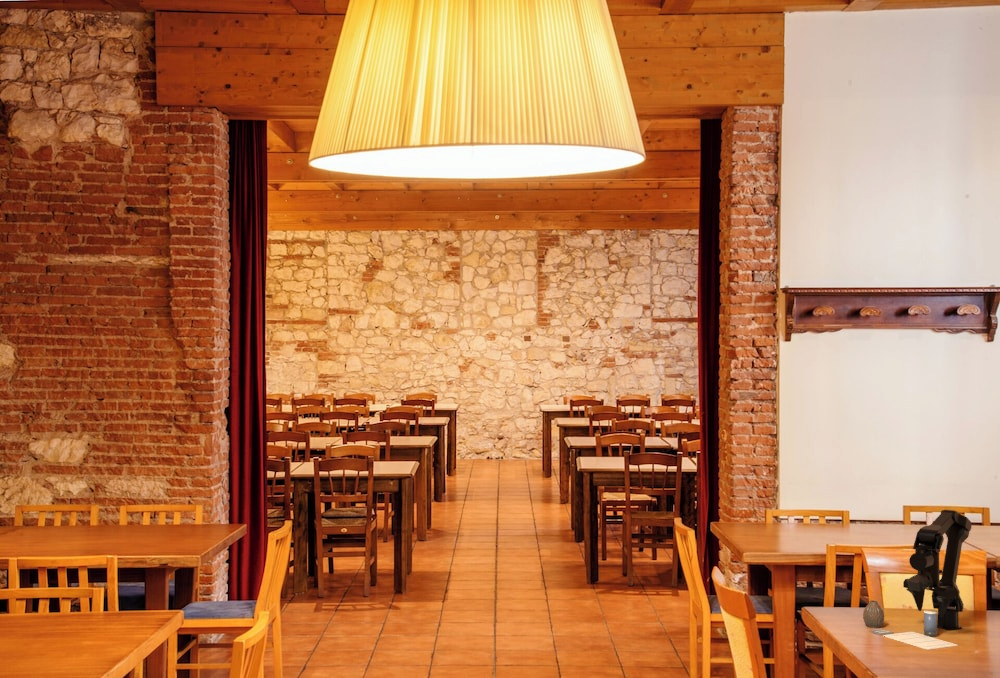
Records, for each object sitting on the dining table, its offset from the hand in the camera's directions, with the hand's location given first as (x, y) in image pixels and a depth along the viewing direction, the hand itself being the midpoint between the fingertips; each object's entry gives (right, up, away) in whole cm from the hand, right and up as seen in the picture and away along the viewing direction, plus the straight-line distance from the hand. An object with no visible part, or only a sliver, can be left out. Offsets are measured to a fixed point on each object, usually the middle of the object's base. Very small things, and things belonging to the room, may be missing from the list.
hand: (930, 613), depth 348 cm
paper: (-7, -7, -8) cm, 12 cm away
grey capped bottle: (0, -7, 0) cm, 7 cm away
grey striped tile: (-15, -7, +3) cm, 17 cm away
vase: (-15, -8, +12) cm, 20 cm away
